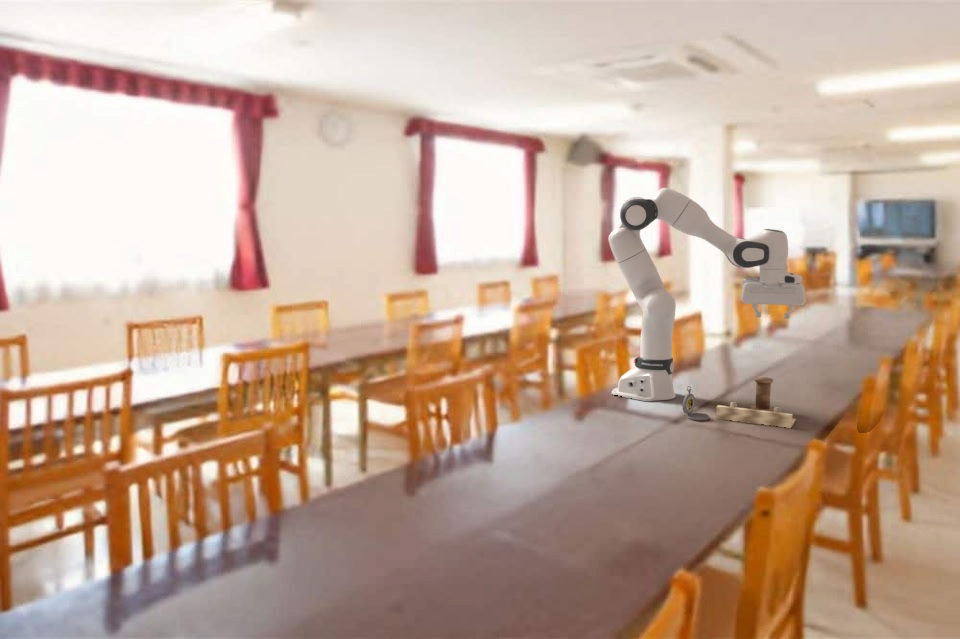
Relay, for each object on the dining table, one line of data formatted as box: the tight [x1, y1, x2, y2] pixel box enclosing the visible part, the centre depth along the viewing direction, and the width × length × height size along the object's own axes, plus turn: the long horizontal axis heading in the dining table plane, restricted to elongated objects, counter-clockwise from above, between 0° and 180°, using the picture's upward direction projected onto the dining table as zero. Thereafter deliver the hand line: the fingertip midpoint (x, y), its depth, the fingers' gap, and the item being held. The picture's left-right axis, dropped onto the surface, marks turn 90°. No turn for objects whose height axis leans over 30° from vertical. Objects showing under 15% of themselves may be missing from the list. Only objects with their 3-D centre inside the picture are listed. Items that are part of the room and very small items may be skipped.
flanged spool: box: [750, 376, 774, 412], centre depth 232 cm, size 7×7×11 cm
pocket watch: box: [682, 385, 711, 421], centre depth 225 cm, size 8×8×10 cm
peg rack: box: [715, 401, 797, 429], centre depth 222 cm, size 22×10×5 cm, turn 59°
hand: (772, 317), depth 241 cm, fingers open, 8 cm apart
